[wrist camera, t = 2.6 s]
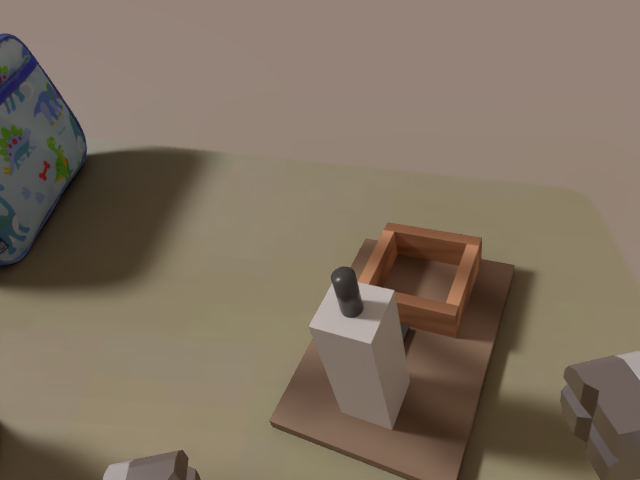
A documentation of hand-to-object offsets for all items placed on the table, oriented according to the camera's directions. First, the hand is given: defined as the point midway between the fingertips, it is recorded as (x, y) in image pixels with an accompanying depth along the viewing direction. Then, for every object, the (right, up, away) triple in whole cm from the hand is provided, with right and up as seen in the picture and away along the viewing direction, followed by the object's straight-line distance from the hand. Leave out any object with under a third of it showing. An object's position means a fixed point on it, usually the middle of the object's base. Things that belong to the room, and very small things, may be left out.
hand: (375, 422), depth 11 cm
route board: (+6, -5, +31) cm, 32 cm away
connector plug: (+3, -8, +27) cm, 29 cm away
